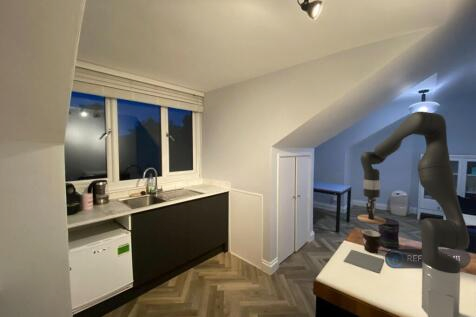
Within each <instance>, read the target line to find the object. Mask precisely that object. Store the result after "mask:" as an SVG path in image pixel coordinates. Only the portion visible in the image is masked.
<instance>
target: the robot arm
mask: <svg viewBox="0 0 476 317" xmlns="http://www.w3.org/2000/svg"><path fill="white" fill-rule="evenodd" d="M411 135H418V136H423V137H424V139H425V145H426V148H425V151H424V153H423V155H422V157H421V158H420V160H419V162H418V164H417V173H418V179H419V180H418V181H419V184H420V185H421V186H422V188H423V190H425V192H427V193H428V195H430V196H431V197H432V198H433V199H434V201H435V202H437V203H438V205H439V206H440V208H441V209H442V212H443V214H444V217H445V219H441V218H440V219H439V218H431V217H430V218H429V217H428V218H427V217H426V218H423V220H421V221H422V222H421V225H420V234H421V235H420V236H421V238H420V239H421V255H422V265H421V268H422V269H421V270H422V271H421V308H422V310H423V309H424V310H423V311H424V312H425V314H426V315H428V317H429V316H431V317H460V299H461V298H460V294H461V293H460V292H461V268H462V267H461V263H460V261H459V260H458V259H457V258H455V257H453V256H452V255H449V254H447V253H445V252H442V251H441V250H440V251H439V248H444V249H445V248H446V249H453V250H460V251H461V250H463V251H464V250H466V249H468V248H469V246H470V235H469V231H468V228H467V225H466V221H465V218H464V214H463V212H462V208H461V206H460V202H459V199H458V198H459V197H458V194H457V188H456V183H455V177H454V176H455V175H454V171H453V168H452V163H451V158H450V153H449V148H448V138H447V136H448V135H447V122H446V119H445V117H444V116H443V115H442V114H439V113H434V112H428V111H415V112H413V113H411V114H410V115H409V116H408V117H406V119H404V121H402V122H401V124H399V125H398V127H396V129H394V131H393V132H392V133H391V134H390V135H389V136H388V137H387V138H386V139H384V140H383V141H382V142H380V143H379V144H378V145H377V146H375V147H374V149H373V151H363V152H362V153H361V156H360V164H361V166H362V169H363V196H364V197H367V199H366V202H365V205H366V213H367V215H368V219H371V220H373V213H374V214H375V211H376V210H377V208H376V207H377V198H380V197H381V183H380V170H379V169H377V168H373V166H372V165H380V164H382V163H383V162H384V161H385V160H386V159H387V158H388V157H389V156H391V155H392V154H393V153H395V152H397V151H398V150H399V148H400V147H401V146H402V142H403V140H405V139H406V138H407V137H409V136H411Z"/></svg>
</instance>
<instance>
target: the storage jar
mask: <svg viewBox="0 0 476 317" xmlns="http://www.w3.org/2000/svg"><path fill="white" fill-rule="evenodd" d="M382 218H383V219H385V220H386V223H385V224H377V225H378V227H377V228H378V233H380V234H381V236H380V247H381V248H384V249H386V250H391V251H395V250H396V251H397V250H399V248H400V247H399V246H400V239H399V238H400V237H399V232H400V222H399V221H398V220H396V219H392V218H388V217H387V218H385V217H382Z"/></svg>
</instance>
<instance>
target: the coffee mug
mask: <svg viewBox="0 0 476 317" xmlns="http://www.w3.org/2000/svg"><path fill="white" fill-rule="evenodd" d="M361 232H362V240H363V248H364V251H365V252H367V253H371V254H378V253H379V249H380V247H381V246H380V236H381V234H380V233H379V231H375V230H371V229H364V230H362V231H361Z"/></svg>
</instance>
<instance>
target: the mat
mask: <svg viewBox="0 0 476 317" xmlns="http://www.w3.org/2000/svg"><path fill="white" fill-rule="evenodd" d="M384 260H385V258H381V257H378V256H375V255H372V254H367V253H364V252H361V251H357V250H355V249H351V250H350V251H349V252H348V254H347V255H346V257H345V258H344V259H343V262H344V263H347V264H351V265H353V266H355V267H358V268H361V269H365V270H367V271H371V272H374V273H376V274H379V273H380V270H381V268H382V265H383V263H384Z"/></svg>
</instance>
